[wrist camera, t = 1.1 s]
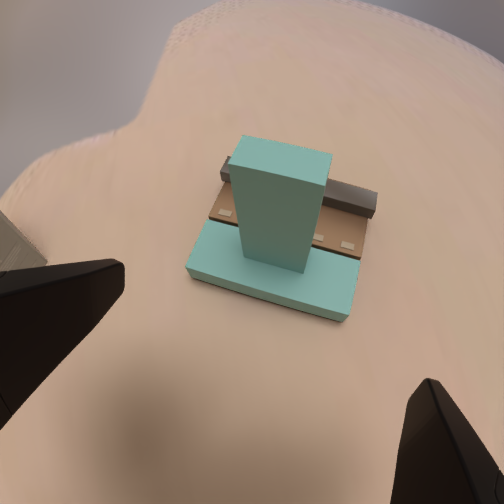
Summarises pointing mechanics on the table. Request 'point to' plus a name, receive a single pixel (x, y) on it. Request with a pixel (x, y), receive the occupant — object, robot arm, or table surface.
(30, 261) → the skincare box
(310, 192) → the teal t-shaped block
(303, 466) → the table surface
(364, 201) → the board
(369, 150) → the table surface
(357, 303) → the table surface
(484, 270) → the table surface
